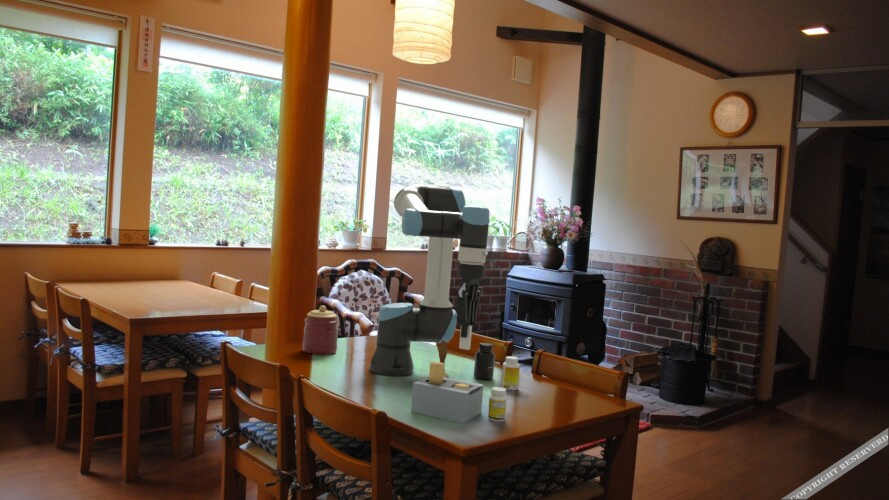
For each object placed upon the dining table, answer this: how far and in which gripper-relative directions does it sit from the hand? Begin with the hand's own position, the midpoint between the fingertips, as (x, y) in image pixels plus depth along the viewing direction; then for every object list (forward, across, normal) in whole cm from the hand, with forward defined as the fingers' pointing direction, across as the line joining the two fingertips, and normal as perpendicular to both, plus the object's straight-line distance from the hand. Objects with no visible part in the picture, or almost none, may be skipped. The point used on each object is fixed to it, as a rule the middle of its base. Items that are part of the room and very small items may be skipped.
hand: (464, 348), depth 179 cm
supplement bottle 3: (+19, +38, -1) cm, 42 cm away
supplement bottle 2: (+19, +3, -10) cm, 21 cm away
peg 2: (+18, 0, 0) cm, 18 cm away
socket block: (+18, 0, +4) cm, 19 cm away
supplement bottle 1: (+19, +44, +11) cm, 50 cm away
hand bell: (+19, +18, +15) cm, 30 cm away
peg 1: (+13, 0, +8) cm, 15 cm away
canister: (+20, +40, +76) cm, 88 cm away
